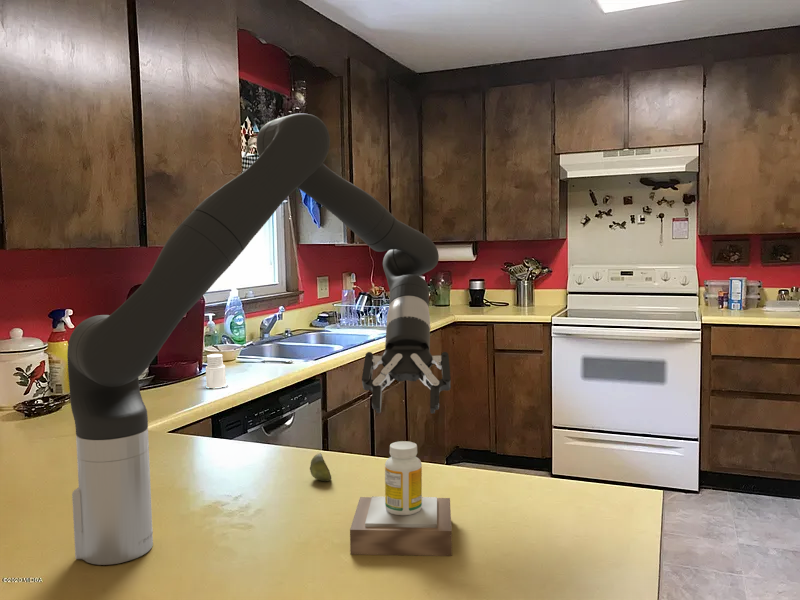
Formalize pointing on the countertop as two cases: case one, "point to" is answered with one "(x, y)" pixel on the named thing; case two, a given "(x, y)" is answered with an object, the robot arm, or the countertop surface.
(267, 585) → the countertop surface
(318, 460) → the lime
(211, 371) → the white pipe fitting
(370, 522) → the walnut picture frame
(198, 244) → the robot arm
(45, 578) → the countertop surface
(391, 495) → the supplement bottle
